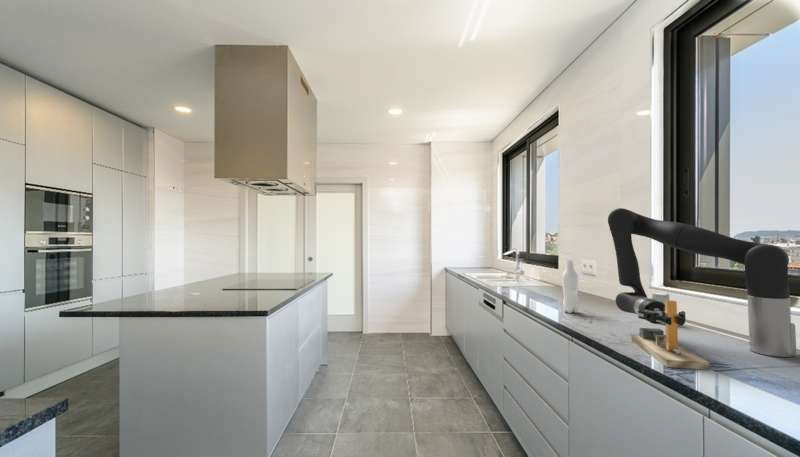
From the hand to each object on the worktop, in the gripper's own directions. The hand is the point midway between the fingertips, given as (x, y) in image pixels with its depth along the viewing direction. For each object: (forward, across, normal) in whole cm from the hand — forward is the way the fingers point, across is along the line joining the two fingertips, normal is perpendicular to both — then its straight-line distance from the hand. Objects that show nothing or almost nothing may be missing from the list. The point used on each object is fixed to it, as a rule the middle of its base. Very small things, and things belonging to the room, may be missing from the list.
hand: (676, 321), depth 106 cm
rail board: (-7, 0, +12) cm, 14 cm away
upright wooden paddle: (-4, 0, +9) cm, 10 cm away
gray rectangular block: (-16, 0, +10) cm, 19 cm away
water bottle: (-68, -15, +12) cm, 71 cm away
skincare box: (-52, +17, +12) cm, 56 cm away
